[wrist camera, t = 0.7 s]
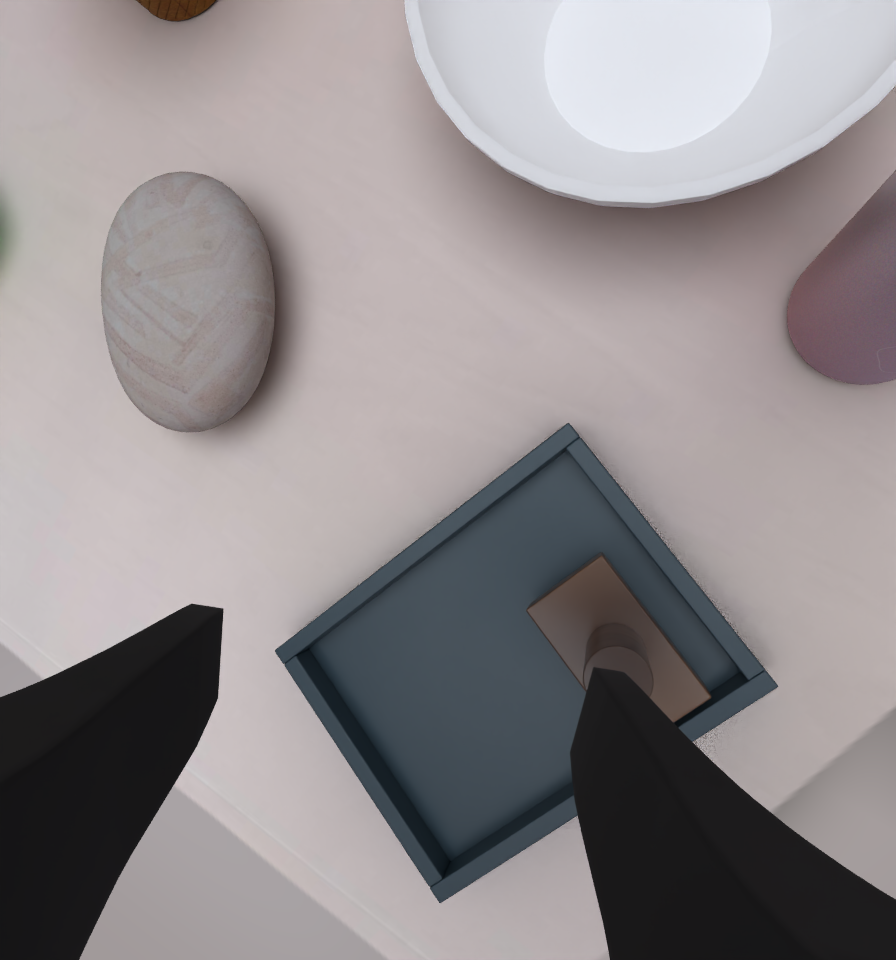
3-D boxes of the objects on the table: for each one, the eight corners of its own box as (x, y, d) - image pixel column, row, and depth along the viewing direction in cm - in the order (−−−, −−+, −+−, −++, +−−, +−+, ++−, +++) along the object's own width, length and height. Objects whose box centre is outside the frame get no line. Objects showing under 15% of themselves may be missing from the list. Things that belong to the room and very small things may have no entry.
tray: (766, 672, 28) (778, 687, 26) (450, 876, 31) (439, 904, 29) (570, 426, 30) (568, 422, 28) (294, 641, 33) (273, 650, 31)
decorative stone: (296, 435, 33) (243, 425, 28) (146, 438, 35) (73, 429, 30) (298, 188, 33) (246, 137, 29) (149, 206, 36) (77, 161, 31)
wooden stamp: (703, 680, 28) (732, 735, 22) (627, 730, 28) (634, 797, 22) (602, 549, 29) (601, 565, 23) (531, 601, 30) (511, 629, 23)
